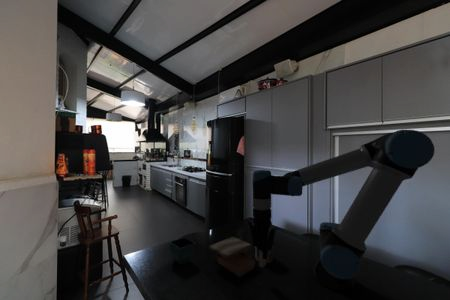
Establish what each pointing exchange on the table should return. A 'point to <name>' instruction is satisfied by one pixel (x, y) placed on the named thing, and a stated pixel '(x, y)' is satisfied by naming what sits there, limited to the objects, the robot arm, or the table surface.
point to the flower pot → (182, 250)
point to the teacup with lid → (269, 255)
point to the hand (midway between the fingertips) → (262, 265)
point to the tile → (237, 264)
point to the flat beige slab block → (231, 248)
